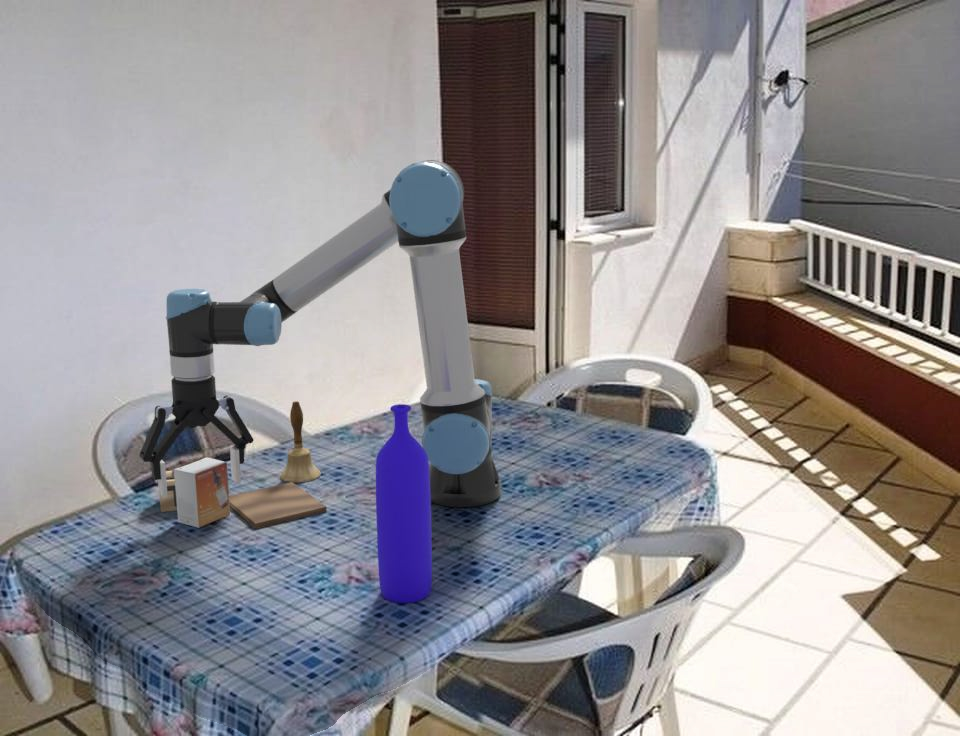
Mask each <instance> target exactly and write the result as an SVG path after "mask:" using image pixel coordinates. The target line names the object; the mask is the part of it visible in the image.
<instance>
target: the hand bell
mask: <svg viewBox="0 0 960 736" xmlns="http://www.w3.org/2000/svg"><path fill="white" fill-rule="evenodd" d="M289 414H290V415H289V417H290V424H291V427H292V429H293V430H292V431H293V441H294V442H293V445H294V446H293V448H292V449H290V450H289V451H288V452H287V453H288V454H287V462H286V466H285V468H284V470H283V471H282V472H281V473H280V479H281V480H282V481H284V482H286V483H290V482H293V483H294V484H295V483H296V484H297V483H305V482H311V481H313V480H316V479H318V478H320V476H321V475H322V473H321V471H320V470H319V469H318V468H317V467H316V466H315V465H314V462H313V460H312V456H311V451H310V449H308V448H305V447H304V446H303V434H302V430H303V429H302V428H303V424H304V413H303V410H302V407H301V405H300V402H299V401H297V400H295V401H292V405H291V408H290V413H289Z"/></svg>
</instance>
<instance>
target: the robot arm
mask: <svg viewBox="0 0 960 736" xmlns="http://www.w3.org/2000/svg"><path fill="white" fill-rule="evenodd" d="M464 199H465V187H464V184H463V181H462V179H461V177H460V175H459V174H458V172H457V171H456V170H455V169H454V168H453V167H452V166H450V165H449V164H448V163H446V162H443V161H440V160H434V159H431V160H429V159H427V160H423V161H420V162H419V161H418V162H415V163H412V164H409V165H407V166H406V167H405V168H403V169H402V170H400V172H399V173H398V174H397V176H396V177H395V178H394V180H393V182H392V185H391V187H390V189H389V190H387V191H386V192H385V193H383V194H382V198H381V202H380V203H379V204H378V205H376V206H375V207H374V208H372V209H370V210H369V211H367V212H366V213H365V214H364V215H362V216H361V217H359V218H357V219H356V220H355V221H353V222H352V223H351V224H349V225H348V226H347V227H345V228H344V229H342V230H341V231H339V232H338V233H337V234H335V235H334V236H333V237H331V238H329V239H328V240H326V242H324V243H323V244H321V245H320V246H318V247H317V248H316V249H314V250H312V251H311V252H310V253H308V254H307V255H306V256H304V257H303V258H301V259H300V260H299V261H297V262H296V263H294V264H293V265H292V266H290V267H288V268H287V269H286V270H284V271H283V272H282V273H280V274H279V275H277V276H276V277H274V278H273V279H272V280H271V281H269V282H267V283H266V284H264V285H263V286H262V287H261V286H260V288H258V289H257V290H255V291H254V292H252V293H251V294H250V295H249V296H247V297H245V298H244V299H242V300H240V301H239V302H238V301H232V302H229V301H228V302H227V301H226V302H221V301H212V298H211V293H210V292H209V291H208V290H206V289H203V288H202V289H199V288H183V289H176V290H173V291H171V292H169V293H168V294H167V296H166V317H165V319H166V326H167V335H168V337H167V338H168V348H169V351H168V352H169V362H170V363H169V364H170V366H169V367H170V375H171V377H172V379H171V393H172V404H171V406H164V407H163V406H161V405H156V406H155V407H154V419H153V421H152V423H151V426H150V427H149V431H148V433H147V435H146V438H145V440H144V443H143V445H142V448H141V449H140V452H139V457H140V459H141V460H142V461H143V462H145V463H150V467H151V475H152V476H151V477H153V479H154V480H155V481H157V484H158V495H159V494H160V495H161V496H162V497H163V498H166V497H168V495H167V481H166V471H167V470H166V462H165V461H164V460H163V459H164V457H165V455H166V454H167V453H168V451H169V450H170V449H171V447H172V445H173V444H174V443H175V441H176V440H177V439H178V437H179V436H180V434H181V433H183V432H184V431H185V430H186V428H189V429H195V428H197V427H207V425H209V424H210V423H211V424H212V425H213V426H214V427H215V428H216V429H217V430H218V431H219V432H220V433H222V434H223V435H224V436H225V438H227V439H228V440H229V441H231V442H232V443H233V445H230V446H229V457H230V470H231V471H230V472H231V480H232V481H233V482H235V483H236V484H239V483H242V481H241V465H243V464H245V463H244V462H245V452H244V451H245V449H246V446H247V445H248V444H252V443H253V442H254V438H253V436H252V434H251V433H250V430H249V429H248V427H247V426H246V424H245V423H244V421H243V419H242V418H241V416H240V414H239V413H238V411H237V410H236V404H235V400H234V399H233V397H230V396H229V395H224V396H223V397H222V398H219V399H217V391H216V388H217V387H216V377H215V376H214V375H213V374H215V372H216V369H215V358H214V345H228V346H229V345H231V346H232V345H235V346H237V345H238V346H255V347H261V346H269V345H271V346H273V345H275V344H277V343H278V341H279V340H280V337H281V334H282V324H283V322H285V321H286V320H288V319H289V318H290V317H292V316H293V315H295V314H296V313H297V312H299V311H300V310H302V309H303V308H305V307H306V306H308V305H309V304H310V303H312V302H314V301H315V300H316V299H318V298H320V296H322V295H324V294H325V293H327V291H329V290H330V289H332V288H334V287H335V286H336V285H338V284H340V283H341V282H342V281H343V280H345V279H347V278H348V277H350V276H351V275H352V274H354V273H356V272H357V271H358V270H359V269H362V267H364V266H366V265H367V264H369V263H370V262H371V261H373V260H374V259H376V258H377V257H379V256H380V255H381V254H383V253H385V252H386V251H388V250H390V248H391V247H393V246H395V245H396V244H397V243H398V247H399V248H400V249H401V250H403V251H404V252H405V253H407V255H408V256H409V264H410V271H411V277H412V284H413V286H412V287H413V292H414V300H415V301H414V302H415V307H416V308H415V309H416V316H417V323H418V331H419V337H420V338H419V339H420V344H421V345H420V346H421V352H422V353H421V355H422V359H423V360H422V361H423V369H424V375H425V383H426V389H425V391H423V394H422V395H421V396H420V398H419V401H420V411H421V417H422V419H421V420H422V426H423V433H422V436H421V437H422V438H421V446H422V447H423V449H424V450H425V452H426V453H427V456H428V461H429V473H430V496H431V503H433V504H436V505H439V506H443V507H451V508H471V507H472V508H473V507H478V506H483V505H487V504H490V503H492V502H495V501H496V500H497V499H499V497H500V496H501V495H502V493H501V490H502V489H501V488H502V487H501V486H502V485H501V484H502V483H501V479H500V476H499V474H498V471H497V467H496V464H495V462H494V459H493V457H492V453H493V452H492V448H493V447H492V446H493V445H492V443H493V442H492V434H493V433H492V422H493V421H492V415H493V414H492V398H493V393H492V385H491V384H490V382H489V381H486V380H484V379H477V378H476V379H475V370H474V363H473V356H472V346H471V341H470V340H471V338H470V331H469V323H468V314H467V313H468V311H467V305H466V296H465V290H464V289H465V288H464V282H463V273H462V263H461V257H460V256H461V255H460V248H461V246H462V245H463V244H464V243H465V241H466V240H467V231H466V223H465V215H464V214H465V213H464V205H463V203H464ZM220 407H221V409H223V410H224V411H225V412H226V413H227V415H228V417H229V419H230V420H231V421H232V423H233V425H234V426H235V428H236V430H237V431H238V433H239V435H240V436H241V437H238V436H237V435H236V434H235V433H233V432H232V431H231V429H230V428H228V427H227V426H226V425H225V423H223V422H222V420H220V419H219V418H218V417H217V416H215V415H216V413H217V411H218V410H219V409H220ZM171 415H173V416H174V417H175V418H174V419H173V420H172V422H171V425H170V427H169V429H168V430H167V431H166V433H165V434H164V435H163V436H162V438H161V440H160V439H159V438H160V436H161V434H162V431H163V429H164V426H165V423H166V421H167V420H168V419H169V417H170V416H171ZM159 440H160V441H159ZM157 443H158V444H157Z"/></svg>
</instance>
